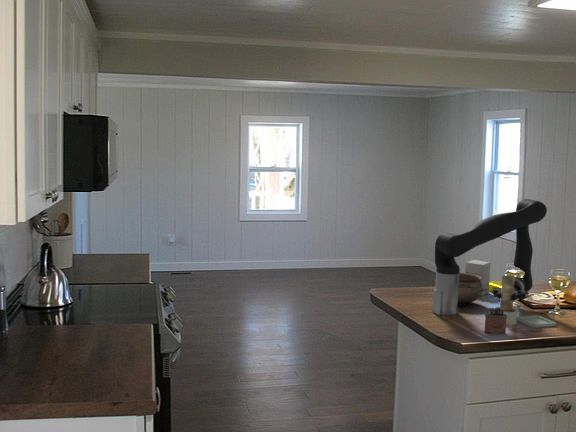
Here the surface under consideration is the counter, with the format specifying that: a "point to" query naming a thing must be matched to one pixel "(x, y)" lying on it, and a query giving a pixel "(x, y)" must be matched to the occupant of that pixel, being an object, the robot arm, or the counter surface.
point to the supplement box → (480, 272)
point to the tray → (536, 321)
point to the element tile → (496, 285)
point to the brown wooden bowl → (469, 288)
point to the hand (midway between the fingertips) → (506, 297)
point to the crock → (511, 317)
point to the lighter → (495, 321)
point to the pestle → (507, 293)
